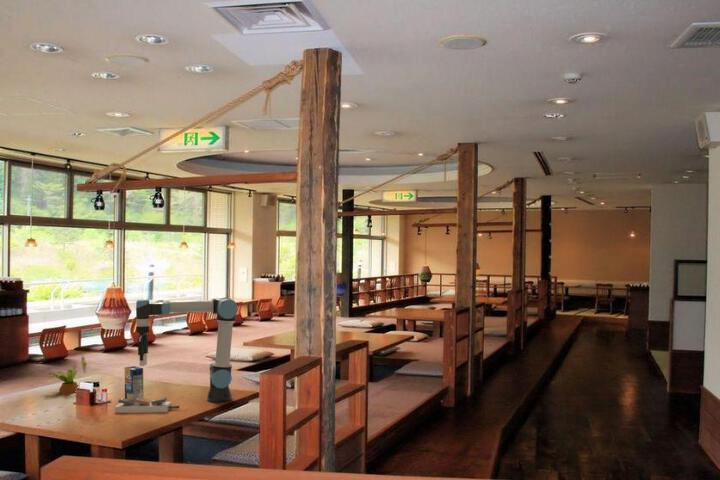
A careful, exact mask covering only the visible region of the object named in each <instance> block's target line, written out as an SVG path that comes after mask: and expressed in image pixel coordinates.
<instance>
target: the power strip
mask: <svg viewBox="0 0 720 480" xmlns="http://www.w3.org/2000/svg"><path fill="white" fill-rule="evenodd" d="M151 402H152V401H151ZM151 402H150V404H148V405H146V404H141V403H136V402H134V404H132V405H129V404H124V403H118V404H116V405H115V406H114V413H115V414H119V413H120V414H121V413H122V414H123V413H125V414H127V413H128V414H129V413H130V414H131V413H132V414H133V413H168V411H169V410H173V409H175V410H177V409H180V405H172V401H165V402H162V403H157V404H153V405H151Z"/></svg>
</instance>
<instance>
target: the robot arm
mask: <svg viewBox="0 0 720 480" xmlns="http://www.w3.org/2000/svg"><path fill="white" fill-rule="evenodd" d="M135 305H136V306H135V307H136V308H135V312H136V313H135V315H136V317H135V322H136V323H135V324H136V328H135V330H136V334H137V333H138V334H139V335H138V337H137V356H139V367H145V365H147V364H148V357H147V355H148V354H149V335H148V333H150V325H151V324H150V323H151V322H150V321H151V320H150V316H167V315H169V316H170V315H171V313H172V314H173V313H175V314H176V313H177V314H178V313H179V314H181V313H182V314H183V313H185V314H186V313H192V314H193V313H195V314H197V313H198V314H199V313H211V314H212V315H216V321H217V322H218V326H217V327H218V328H217V340H216V352H215V361H214V362H213V363H210V364H209V391H208V393H207V396H206V398H207V399H206V400H207V401H208V402H211V403H221V402H222V403H224V402H228V401H231V400H233V399H232V395H233V394H232V393H231V390H230V386H229V385H230V384H231V383H232V379H233V377H232V369H233V368H232V367H233V364H231V350H232V349H231V348H232V339H233V337H232V336H233V329H234V328H233V326H234V324H235V322H236V320H237V313H238V310H239V308H238V304H237V302H236V301H235V300H234V299H232V298H230V297H220V298H212V299H210V300H208V299H205V300H201V299H200V300H198V299H197V300H193V299H192V300H191V299H190V300H163V299H158V300H157V301H155V302H150V300H149V299H137V300H136V304H135Z"/></svg>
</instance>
